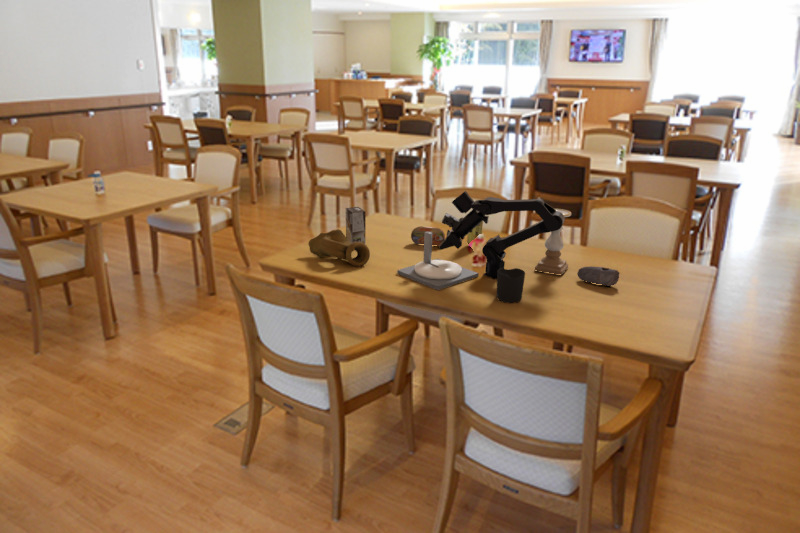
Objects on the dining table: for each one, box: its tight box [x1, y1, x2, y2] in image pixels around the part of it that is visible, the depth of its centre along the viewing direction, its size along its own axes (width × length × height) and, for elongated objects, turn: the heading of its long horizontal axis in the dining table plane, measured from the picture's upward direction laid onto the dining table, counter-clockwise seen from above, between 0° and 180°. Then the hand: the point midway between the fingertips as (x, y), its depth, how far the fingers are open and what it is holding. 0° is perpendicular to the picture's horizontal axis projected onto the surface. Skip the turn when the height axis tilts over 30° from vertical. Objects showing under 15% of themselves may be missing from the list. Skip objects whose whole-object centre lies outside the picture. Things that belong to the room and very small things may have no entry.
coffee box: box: [345, 206, 367, 245], centre depth 261 cm, size 9×6×16 cm
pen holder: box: [496, 268, 526, 304], centre depth 207 cm, size 9×9×10 cm
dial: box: [414, 232, 462, 280], centre depth 226 cm, size 18×18×14 cm
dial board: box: [396, 258, 479, 291], centre depth 229 cm, size 22×22×2 cm
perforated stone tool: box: [576, 266, 621, 287], centre depth 223 cm, size 15×5×7 cm, turn 54°
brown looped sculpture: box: [307, 228, 371, 268], centre depth 242 cm, size 18×13×22 cm
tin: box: [410, 225, 446, 247], centre depth 264 cm, size 15×3×8 cm, turn 73°
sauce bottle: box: [466, 211, 484, 244], centre depth 262 cm, size 7×6×20 cm
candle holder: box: [534, 208, 572, 276], centre depth 234 cm, size 11×11×24 cm
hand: (439, 248), depth 232 cm, fingers closed
